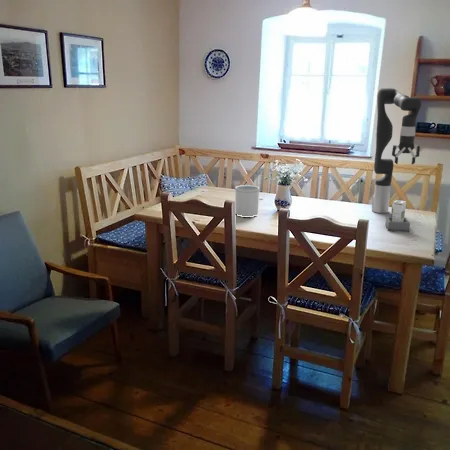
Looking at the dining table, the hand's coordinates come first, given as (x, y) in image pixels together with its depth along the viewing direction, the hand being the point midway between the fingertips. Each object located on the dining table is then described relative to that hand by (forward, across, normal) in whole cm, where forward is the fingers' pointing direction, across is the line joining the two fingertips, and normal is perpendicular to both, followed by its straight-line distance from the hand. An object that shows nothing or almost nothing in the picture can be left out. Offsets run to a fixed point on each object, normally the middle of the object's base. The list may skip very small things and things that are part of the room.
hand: (404, 164), depth 264 cm
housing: (+34, +3, +13) cm, 36 cm away
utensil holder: (+34, +89, -1) cm, 95 cm away
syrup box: (+33, +3, +13) cm, 36 cm away
